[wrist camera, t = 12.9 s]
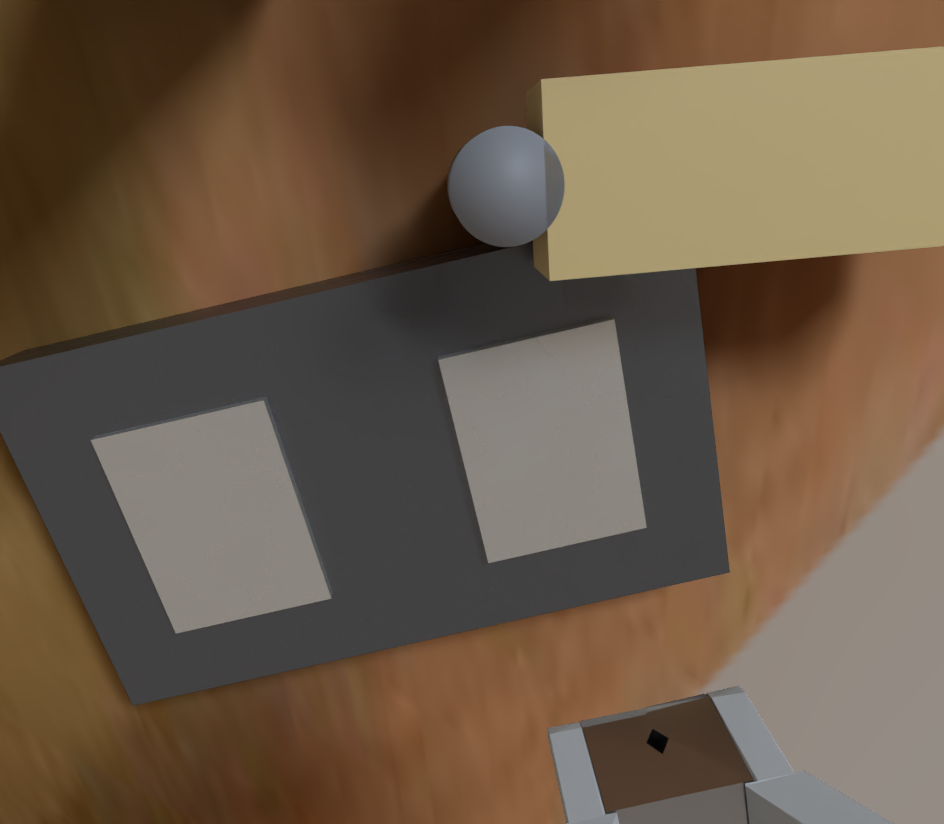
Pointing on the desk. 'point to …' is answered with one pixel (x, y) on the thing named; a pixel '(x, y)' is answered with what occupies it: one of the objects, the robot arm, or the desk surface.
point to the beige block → (714, 165)
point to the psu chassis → (370, 462)
